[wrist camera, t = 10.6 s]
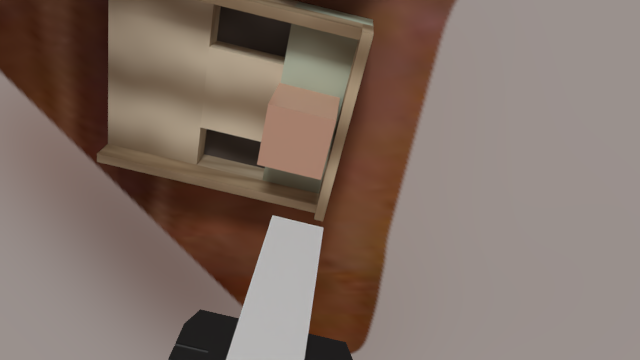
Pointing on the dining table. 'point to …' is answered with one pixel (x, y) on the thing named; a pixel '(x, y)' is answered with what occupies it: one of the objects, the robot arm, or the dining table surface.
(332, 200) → the dining table surface
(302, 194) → the tray
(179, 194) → the dining table surface
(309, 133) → the terracotta block
